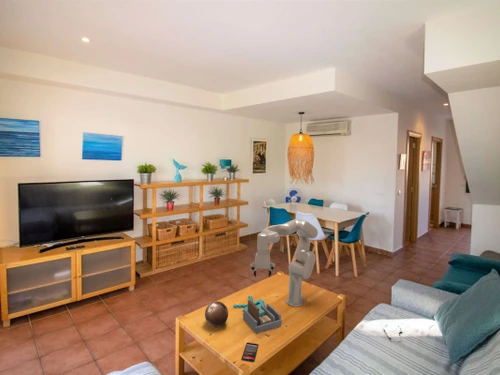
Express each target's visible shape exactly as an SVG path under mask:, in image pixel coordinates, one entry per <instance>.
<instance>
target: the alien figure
mask: <svg viewBox="0 0 500 375" xmlns="http://www.w3.org/2000/svg"><path fill="white" fill-rule="evenodd" d="M247 299H248V301H249V300H251V301H252V302H253V303H254V304H255V305H256V306H257V307H259V308H261V305H263V306H264V307H267V304H266V302H265V300H262V299H261V298H259V299H257V300H255V301H254V298H253V295H250V294H249V295H248V296H247ZM232 308H233V309H241V308H243V309H242V313H244V310H245V309H246V310H247V311H248V303H243V304H241V303H238V304H236V303H235V304H233V306H232Z"/></svg>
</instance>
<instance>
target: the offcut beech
mask: <svg viewBox="0 0 500 375" xmlns="http://www.w3.org/2000/svg"><path fill="white" fill-rule="evenodd" d="M260 318H261V319H262V320H263V324H267V323H270V322H271V319H270V318H269V317H268V316H267V315H265V316H262V317H260Z"/></svg>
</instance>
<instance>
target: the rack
mask: <svg viewBox="0 0 500 375" xmlns="http://www.w3.org/2000/svg"><path fill="white" fill-rule="evenodd" d="M261 309H262V310H264V311H265V315H267V316H268V317H269V318H270V319H271V322H270V323H267V324H263V320H262V319H261V318H260V317H259V326H257V321H256V320H255V319H254V318H253V317H252V316H251V315H250V313H249V312H248V311H247V310H246V309H245V310H244V312H242V319H243V320H244V321H245V322H246V324H247V325H248V327H250V328H251V329H252V331H253V332H254V333H255V334H261V333H264V332H266V331H269V330H273V329H277V328H279V327H282V325H283V324H282V323H283V322H282V315H281V313H279V312H278V311H277V310H276V309H275V308H274V307H273V306H271V305H270V303H266V307H264V306H263V305H261Z"/></svg>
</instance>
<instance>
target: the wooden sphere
mask: <svg viewBox="0 0 500 375" xmlns="http://www.w3.org/2000/svg"><path fill="white" fill-rule="evenodd" d="M204 317H205V322H206V323H207V324H208V325H210V326H211V327H213V328H218V327H221V326H223V325H224V324H225V323H226V322H227V320H228V317H229V309H228V307H227V306H226V303H225V304H224V303H223V302H221V301H213V302H211V303H209V304H208V306H206V308H205V312H204Z"/></svg>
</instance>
